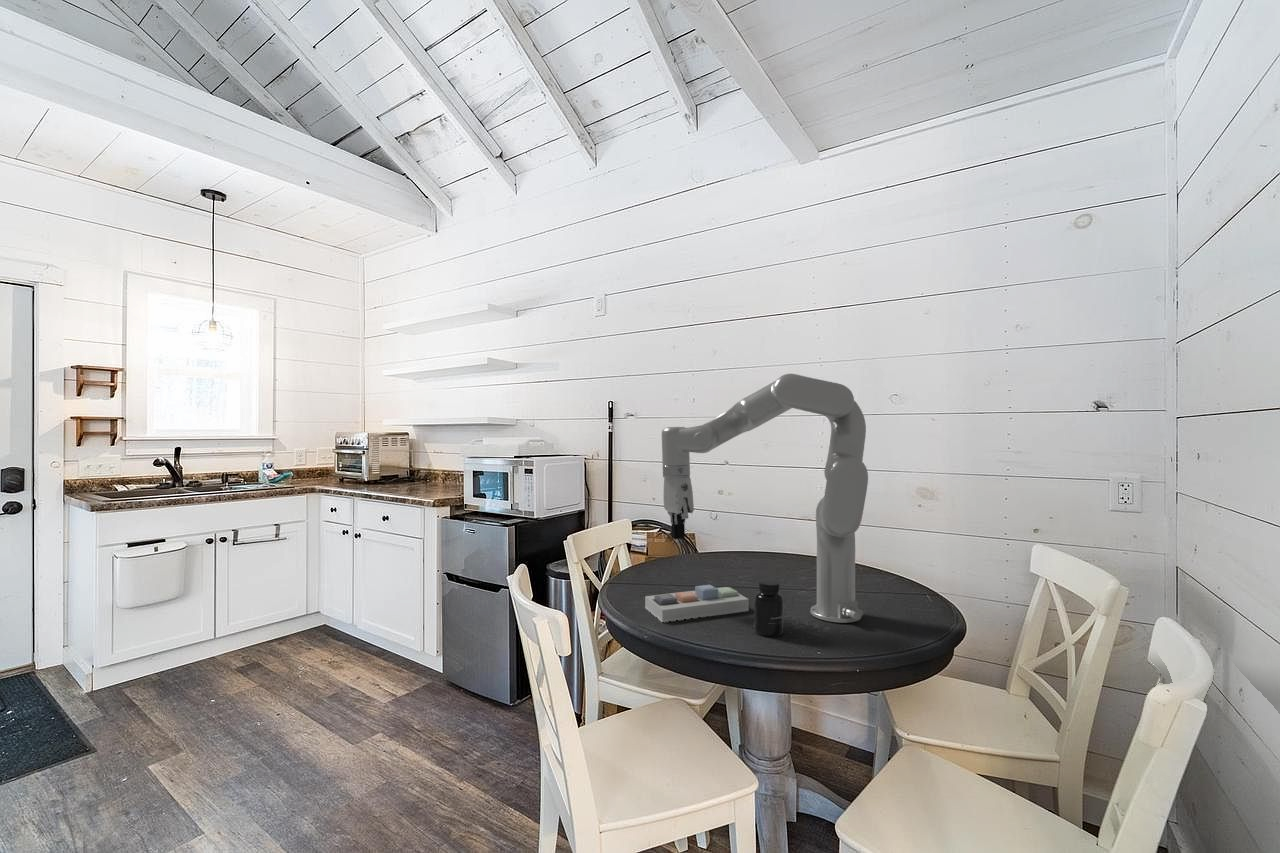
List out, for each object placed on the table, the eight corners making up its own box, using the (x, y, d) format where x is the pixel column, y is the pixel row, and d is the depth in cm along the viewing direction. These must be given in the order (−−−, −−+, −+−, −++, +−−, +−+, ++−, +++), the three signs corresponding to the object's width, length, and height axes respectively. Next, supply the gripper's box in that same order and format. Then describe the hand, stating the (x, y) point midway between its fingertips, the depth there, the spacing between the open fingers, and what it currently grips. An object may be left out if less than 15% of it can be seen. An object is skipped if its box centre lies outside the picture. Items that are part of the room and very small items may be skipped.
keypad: (748, 610, 154) (748, 599, 154) (662, 622, 145) (662, 610, 145) (726, 597, 165) (726, 586, 165) (645, 608, 156) (645, 596, 156)
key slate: (718, 600, 155) (718, 588, 155) (702, 602, 153) (702, 590, 153) (710, 595, 159) (710, 584, 159) (695, 597, 157) (695, 585, 157)
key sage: (737, 602, 157) (737, 591, 157) (722, 604, 155) (722, 592, 155) (729, 597, 161) (729, 586, 161) (714, 599, 160) (714, 588, 160)
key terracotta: (697, 607, 153) (697, 595, 153) (682, 609, 151) (682, 597, 151) (690, 602, 157) (690, 591, 157) (675, 604, 155) (675, 592, 155)
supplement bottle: (777, 639, 134) (777, 588, 134) (750, 633, 137) (750, 583, 137) (787, 630, 140) (787, 581, 139) (760, 625, 143) (760, 577, 143)
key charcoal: (677, 610, 151) (677, 598, 151) (661, 612, 149) (661, 600, 149) (670, 605, 155) (670, 593, 155) (654, 606, 153) (654, 595, 153)
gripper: (701, 472, 153) (703, 541, 153) (676, 469, 167) (678, 532, 167) (675, 474, 150) (678, 544, 150) (653, 470, 164) (655, 534, 164)
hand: (678, 537), depth 159 cm, fingers closed
